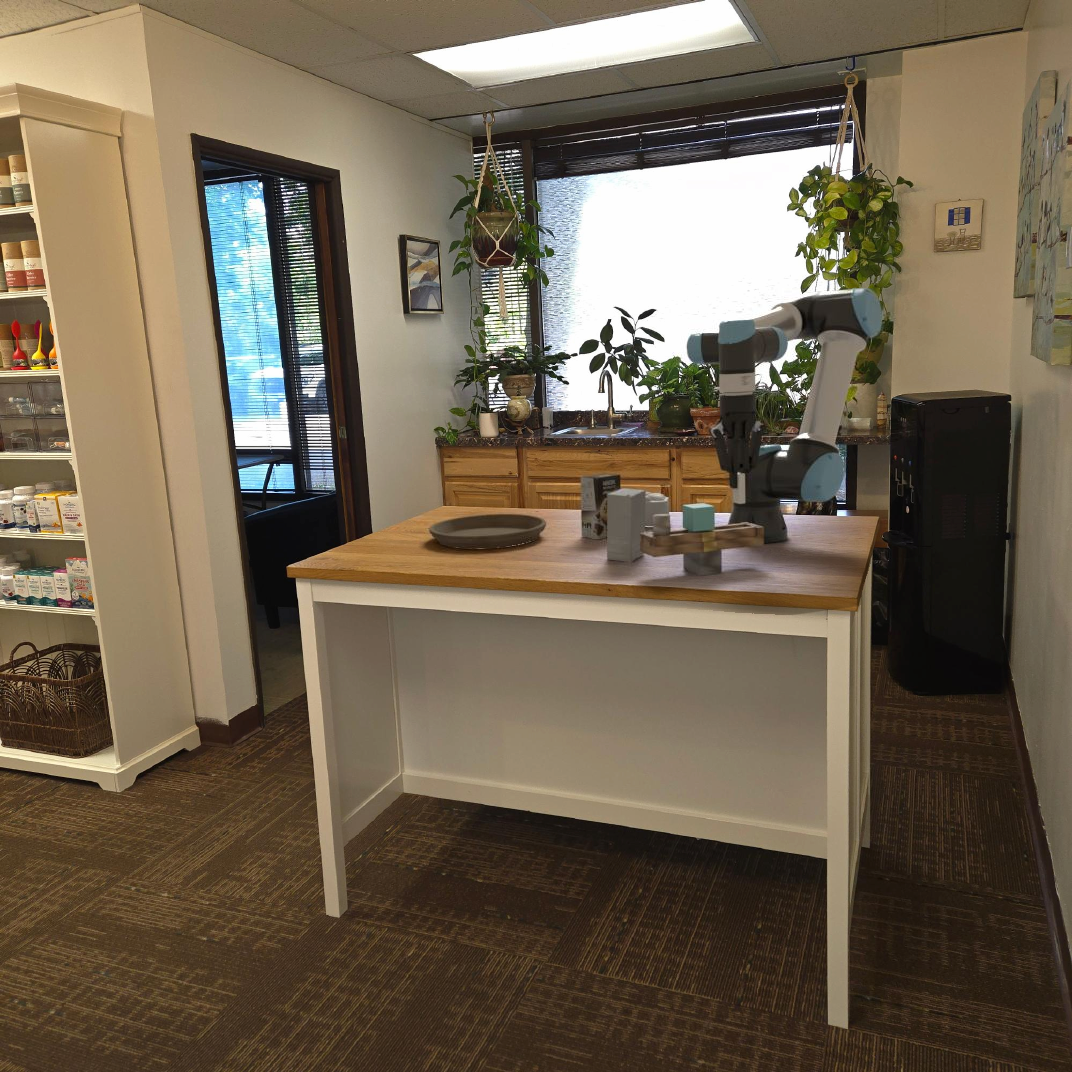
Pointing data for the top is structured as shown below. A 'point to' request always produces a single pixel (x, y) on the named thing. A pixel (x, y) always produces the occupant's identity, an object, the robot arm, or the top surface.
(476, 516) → the plant saucer
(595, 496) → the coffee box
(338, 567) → the top surface
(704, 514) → the block
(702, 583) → the top surface
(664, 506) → the lumpy-topped squat cylinder
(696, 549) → the beam
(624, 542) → the skincare box
